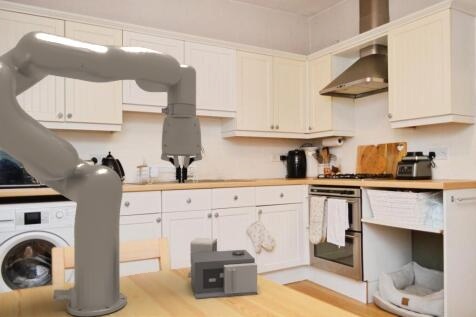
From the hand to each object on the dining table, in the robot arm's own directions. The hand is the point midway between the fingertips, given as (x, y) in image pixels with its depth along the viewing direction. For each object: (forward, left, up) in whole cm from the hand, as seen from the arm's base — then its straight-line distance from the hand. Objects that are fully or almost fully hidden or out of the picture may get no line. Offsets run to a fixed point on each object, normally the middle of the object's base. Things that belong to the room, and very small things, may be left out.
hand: (181, 182), depth 98 cm
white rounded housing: (+7, +8, -27) cm, 29 cm away
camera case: (+10, -4, -27) cm, 29 cm away
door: (+14, -10, -26) cm, 31 cm away
